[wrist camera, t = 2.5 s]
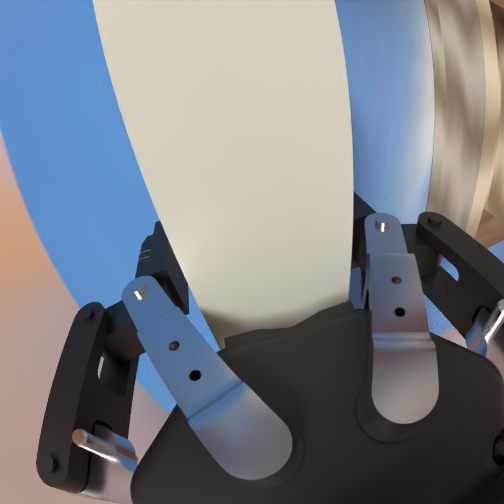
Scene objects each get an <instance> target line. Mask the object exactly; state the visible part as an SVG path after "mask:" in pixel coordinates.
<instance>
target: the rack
mask: <svg viewBox="0 0 504 504" xmlns="http://www.w3.org/2000/svg"><path fill="white" fill-rule="evenodd" d="M424 1H425V6H426V11H427V17H428V23H429V29H430V36H431V44H432V53H433V64H434V81H435V133H434V150H433V162H432V172H431V181H430V189H429V196H428V203H427V209H426V212H436V213H439V214H441V215H443V216H445V217H446V218H447V219H449V220H450V221H452V222H453V223H454V224H456V225H457V226H458V227H460V228H461V229H462V230H464V231H465V232H466V233H467V234H469V235H470V236H471V237H473V238H474V239H475V240H476V241H478V242H479V243H480V244H481V245H483V246H484V247H485V248H486V249H487V248H489V247H491V246H493V245H495V244H497V243H498V242H500V241H502V240H504V0H424Z"/></svg>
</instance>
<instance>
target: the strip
mask: <svg viewBox="0 0 504 504" xmlns="http://www.w3.org/2000/svg"><path fill="white" fill-rule="evenodd" d="M93 4H94V9H95V14H96V19H97V24H98V29H99V33H100V38H101V42H102V46H103V50H104V54H105V58H106V62H107V66H108V69H109V73H110V77H111V80H112V84H113V87H114V91H115V94H116V98H117V101H118V104H119V108H120V111H121V114H122V117H123V120H124V123H125V126H126V130H127V133H128V136H129V139H130V141H131V144H132V147H133V150H134V153H135V156H136V159H137V161H138V164H139V167H140V170H141V172H142V175H143V178H144V181H145V183H146V186H147V188H148V191H149V194H150V196H151V199H152V201H153V204H154V206H155V209H156V211H157V214H158V216H159V219H160V221H161V224H162V226H163V228H164V231H165V233H166V236H167V238H168V240H169V243H170V245H171V247H172V249H173V252H174V254H175V256H176V259H177V261H178V263H179V265H180V267H181V270H182V272H183V274H184V276H185V278H186V281H187V283H188V285H189V287H190V289H191V291H192V293H193V295H194V298H195V300H196V302H197V304H198V306H199V308H200V310H201V312H202V314H203V316H204V318H205V320H206V322H207V324H208V326H209V328H210V330H211V332H212V334H213V336H214V338H215V340H216V342H217V344H218V345H219V347H220V349H223V348H225V342H224V338H225V337H229V336H233V335H237V334H241V333H245V332H249V331H252V330H257V329H273V328H287V327H292V326H294V325H296V324H298V323H300V322H302V321H303V320H305V319H307V318H309V317H310V316H312V315H314V314H315V313H317V312H319V311H321V310H323V309H326V308H329V307H332V306H335V305H338V304H341V303H344V302H347V301H348V294H349V283H350V270H351V255H352V235H353V146H352V127H351V113H350V101H349V91H348V81H347V73H346V65H345V58H344V51H343V44H342V38H341V32H340V27H339V21H338V16H337V11H336V6H335V2H334V0H93Z"/></svg>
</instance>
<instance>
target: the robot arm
mask: <svg viewBox="0 0 504 504" xmlns="http://www.w3.org/2000/svg"><path fill="white" fill-rule="evenodd" d="M442 256H443V257H445V258H446V259H447V260H448V261H449V262H450V263H451V264H452V265H454V266H455V267H456V269H457V271H458V274H459V279H458V282H457V281H456V280H455V279H454V278H453V277H452V276H451V275H450V274H449V273H448V272H447V271H446V270H444V269H443V268H442V267H441V266H440V263H441V259H442ZM355 267H360V269H361V274H360V309H355V308H354V306H353V305H352V303H351V301H347V302H344V303H341V304H338V305H335V306H332V307H329V308H326V309H323V310H321V311H319V312H317V313H315V314H314V315H312V316H310V317H309V318H307V319H305V320H303V321H302V322H300V323H298V324H296V325H294V326H292V327H287V328H273V329H257V330H252V331H249V332H245V333H241V334H237V335H233V336H229V337H225V338H224V342H225V348H223V349H221V350H220V351H218V352H215V351H214V350H213V349H212V347H211V346H210V345H209V344H208V343H207V341H206V340H205V339H204V338H203V337H202V335H201V334H200V333H199V332H198V331H197V329H196V328H195V327H194V326H193V324H192V323H191V322H190V321H189V320H188V318H187V317H186V316H185V315H187V314H189V297H188V283H187V281H186V278H185V276H184V274H183V272H182V270H181V267H180V265H179V263H178V261H177V259H176V256H175V254H174V252H173V249H172V247H171V245H170V243H169V240H168V238H167V236H166V233H165V231H164V228H163V226H162V224H161V221H158V222H156V223H155V228H154V234H153V235H150V236H147V238H146V239H145V241H144V242H143V244H142V246H141V251H140V256H139V261H138V266H137V271H136V276H135V279H134V280H132V281H131V282H130V283H129V284H128V285H127V286H126V287H125V288H124V290H123V292H122V300H121V301H119V302H118V303H116V304H114V305H112V306H110V307H108V308H107V309H105V308H104V307H103V306H102V304H101V303H99V302H92V303H89V304H87V305H85V306H84V307H82V308H81V309H80V310H79V311H78V313H77V315H76V316H75V318H74V321H73V323H72V326H71V329H70V331H69V334H68V337H67V339H66V342H65V345H64V348H63V351H62V354H61V357H60V360H59V363H58V367H57V370H56V374H55V376H54V380H53V383H52V387H51V391H50V394H49V398H48V402H47V406H46V411H45V415H44V420H43V424H42V429H41V435H40V440H39V446H38V452H37V459H36V466H37V471H38V474H39V476H40V478H41V479H42V481H43V482H44V483H45V484H47V485H48V486H51V487H54V488H57V489H60V490H63V491H66V492H68V493H70V494H75V495H78V496H82V497H86V498H91V499H100V500H106V501H112V502H115V503H119V504H504V263H502V262H501V261H500V260H499V259H498V258H497V257H496V256H494V255H493V254H492V253H491V252H490V251H489V250H487V249H486V248H485V247H484V246H483V245H481V244H480V243H479V242H478V241H476V240H475V239H474V238H473V237H471V236H470V235H469V234H467V233H466V232H465V231H464V230H462V229H461V228H460V227H458V226H457V225H456V224H454V223H453V222H452V221H450V220H449V219H447V218H446V217H445V216H443V215H441V214H439V213H436V212H423V213H421V214H420V215H419V217H418V222H417V224H400V221H399V220H398V219H397V218H396V217H394V216H392V215H390V214H386V213H376V212H375V211H374V210H373V209H372V208H371V207H370V206H369V205H368V204H367V203H366V202H365V201H362V199H361V198H360V197H359V196H357V194H356V193H355V192H354V191H353V235H352V255H351V269H352V268H355ZM423 293H424V294H425V295H426V296H427V297H428V298H429V300H430V301H431V302H432V303H433V304H434V305H435V306H436V307H437V308H438V309H439V310H440V311H441V312H442V314H443V315H444V316H445V317H446V318H447V319H448V320H449V321H450V322H451V324H452V325H453V326H454V327H455V328H456V329H457V330H458V331H459V333H460V334H461V335H462V336H463V337H464V339H465V340H466V345H467V348H468V349H467V348H465V347H462V346H460V345H458V344H456V343H453V342H451V341H449V340H446V339H444V338H442V337H440V336H438V335H435V334H433V333H431V332H429V328H428V321H427V314H426V308H425V302H424V296H423ZM145 352H146V353H147V354H148V356H149V358H150V360H151V362H152V363H153V365H154V367H155V369H156V370H157V372H158V374H159V375H160V377H161V379H162V380H163V382H164V384H165V385H166V387H167V388H168V390H169V392H170V393H171V395H172V396H173V398H174V399H175V401H176V402H177V404H176V406H175V407H174V409H173V411H172V412H171V414H170V415H169V417H168V419H167V420H166V422H165V423H164V425H163V426H162V428H161V430H160V431H159V433H158V434H157V436H156V438H155V439H154V441H153V442H152V444H151V446H150V447H149V449H148V450H147V452H146V453H145V455H144V457H143V458H142V459H141V461H140V463H139V464H138V465H137V463H138V458H137V456H136V454H135V449H134V447H133V445H132V444H131V442H130V441H129V440H128V433H129V423H130V414H131V406H132V399H133V392H134V385H135V379H136V373H137V367H138V361H139V355H141V354H143V353H145ZM101 356H102V357H103V358H104V361H103V366H102V369H101V374H100V379H99V377H98V367H99V362H100V359H101Z"/></svg>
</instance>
